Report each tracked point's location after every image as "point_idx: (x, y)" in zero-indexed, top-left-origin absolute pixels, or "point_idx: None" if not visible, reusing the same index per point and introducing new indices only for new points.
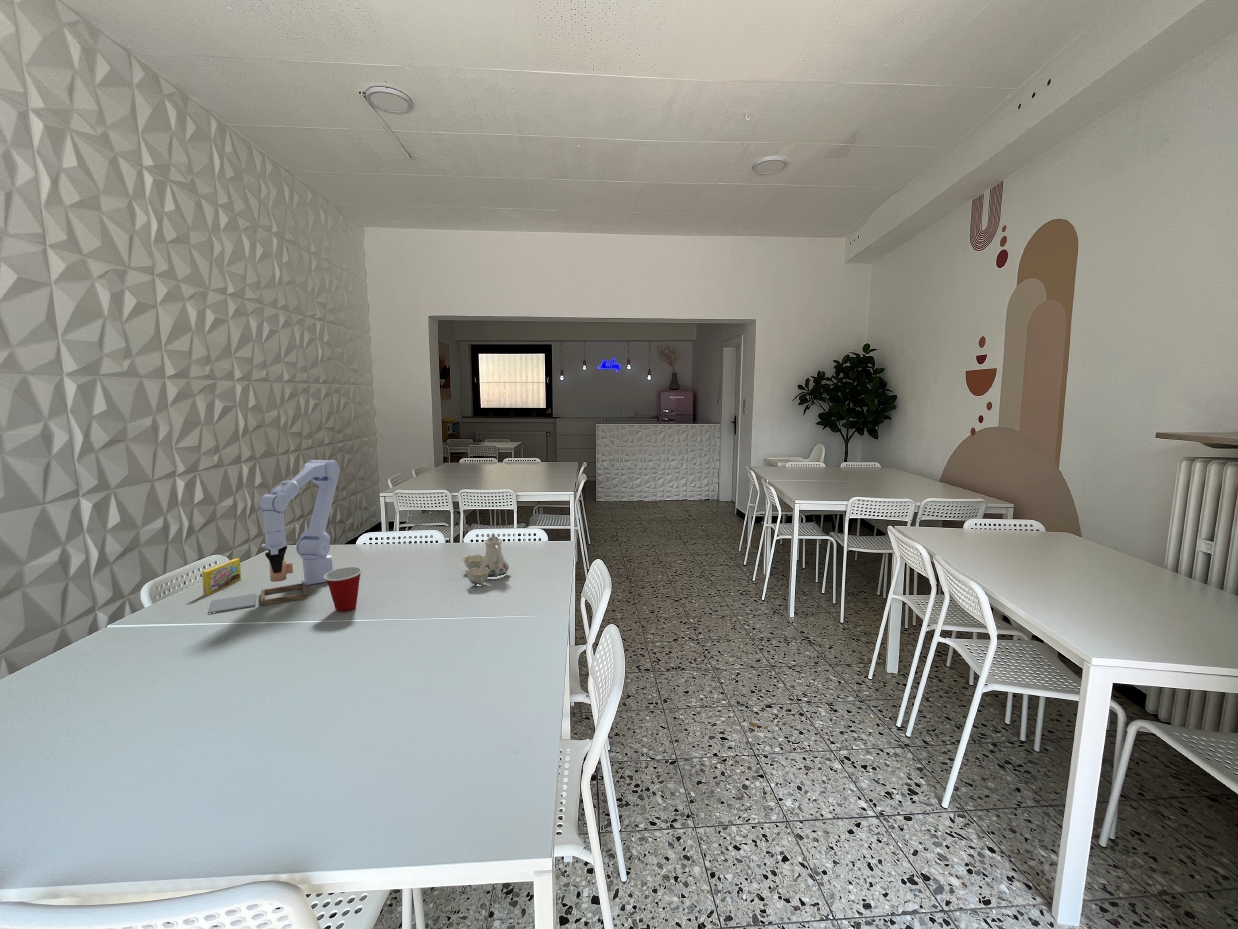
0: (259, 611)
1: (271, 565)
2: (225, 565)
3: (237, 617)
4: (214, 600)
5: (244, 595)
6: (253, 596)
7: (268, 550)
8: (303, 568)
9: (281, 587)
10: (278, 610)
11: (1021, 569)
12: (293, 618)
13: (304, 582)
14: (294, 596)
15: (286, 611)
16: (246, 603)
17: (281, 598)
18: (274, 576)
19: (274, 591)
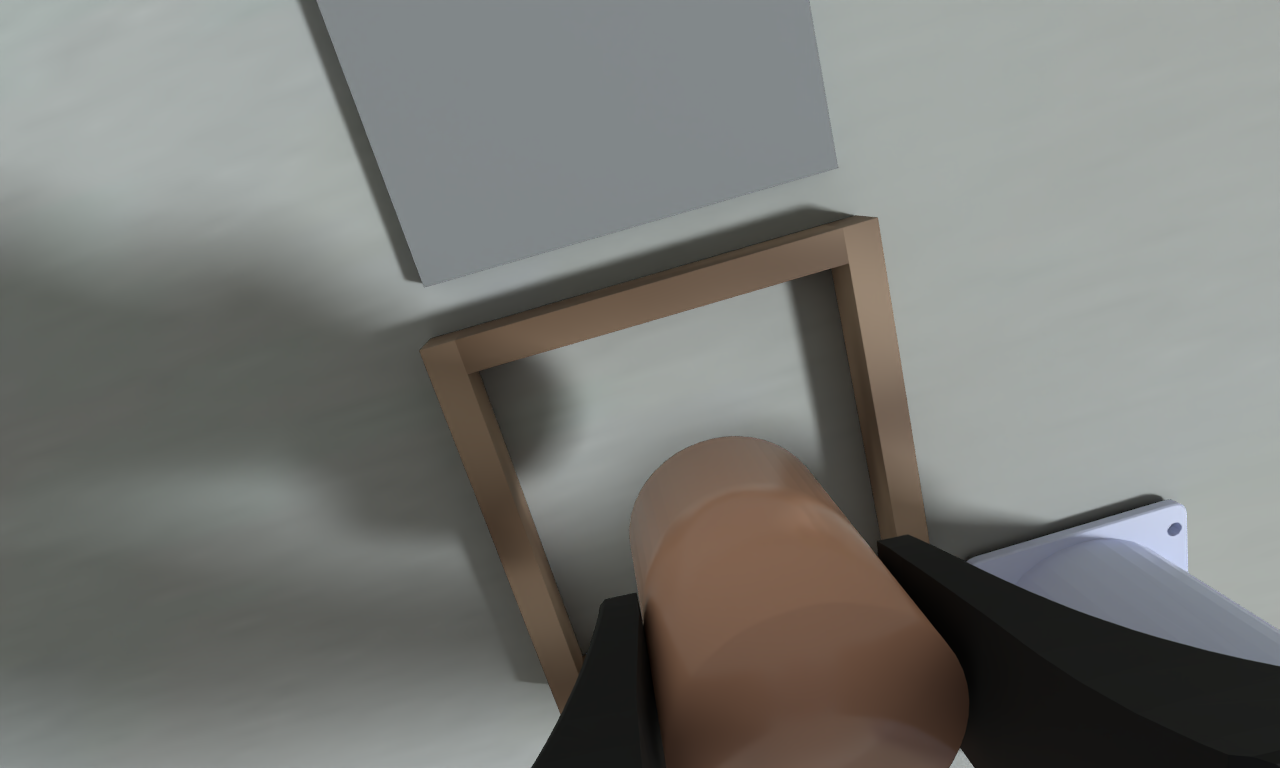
0: (252, 377)
1: (565, 705)
2: None
3: (83, 206)
4: None
5: (808, 46)
6: (730, 173)
7: (1222, 766)
8: (1182, 639)
9: (876, 420)
10: (253, 545)
11: None
12: (8, 729)
13: (1024, 559)
14: (528, 624)
15: (212, 621)
16: (482, 174)
17: (490, 526)
18: (639, 555)
19: (850, 347)
